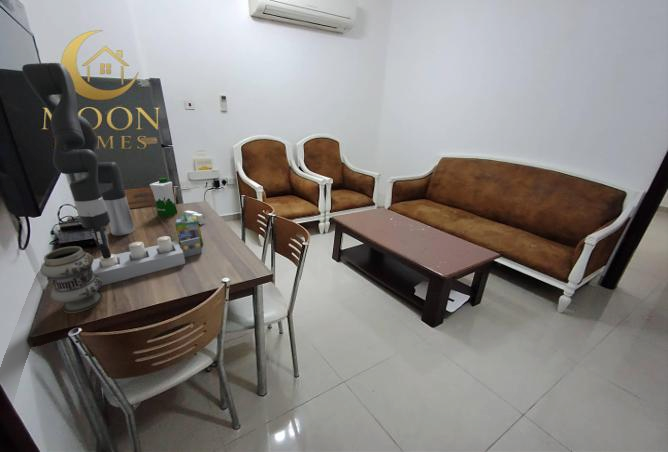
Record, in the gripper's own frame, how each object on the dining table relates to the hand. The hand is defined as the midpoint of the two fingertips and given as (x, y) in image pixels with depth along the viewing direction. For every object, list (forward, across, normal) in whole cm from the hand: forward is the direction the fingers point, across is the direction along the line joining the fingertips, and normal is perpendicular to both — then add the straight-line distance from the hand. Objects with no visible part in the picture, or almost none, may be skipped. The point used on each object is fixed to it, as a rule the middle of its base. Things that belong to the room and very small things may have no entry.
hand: (107, 257), depth 103 cm
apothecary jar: (+8, +14, -8) cm, 18 cm away
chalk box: (+8, -12, +29) cm, 32 cm away
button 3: (+2, 0, +18) cm, 18 cm away
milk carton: (+7, -56, +26) cm, 62 cm away
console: (+7, 0, +9) cm, 12 cm away
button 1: (+5, 0, 0) cm, 5 cm away
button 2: (+3, 0, +9) cm, 9 cm away
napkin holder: (+8, -37, +36) cm, 52 cm away
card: (+7, 0, +27) cm, 28 cm away
